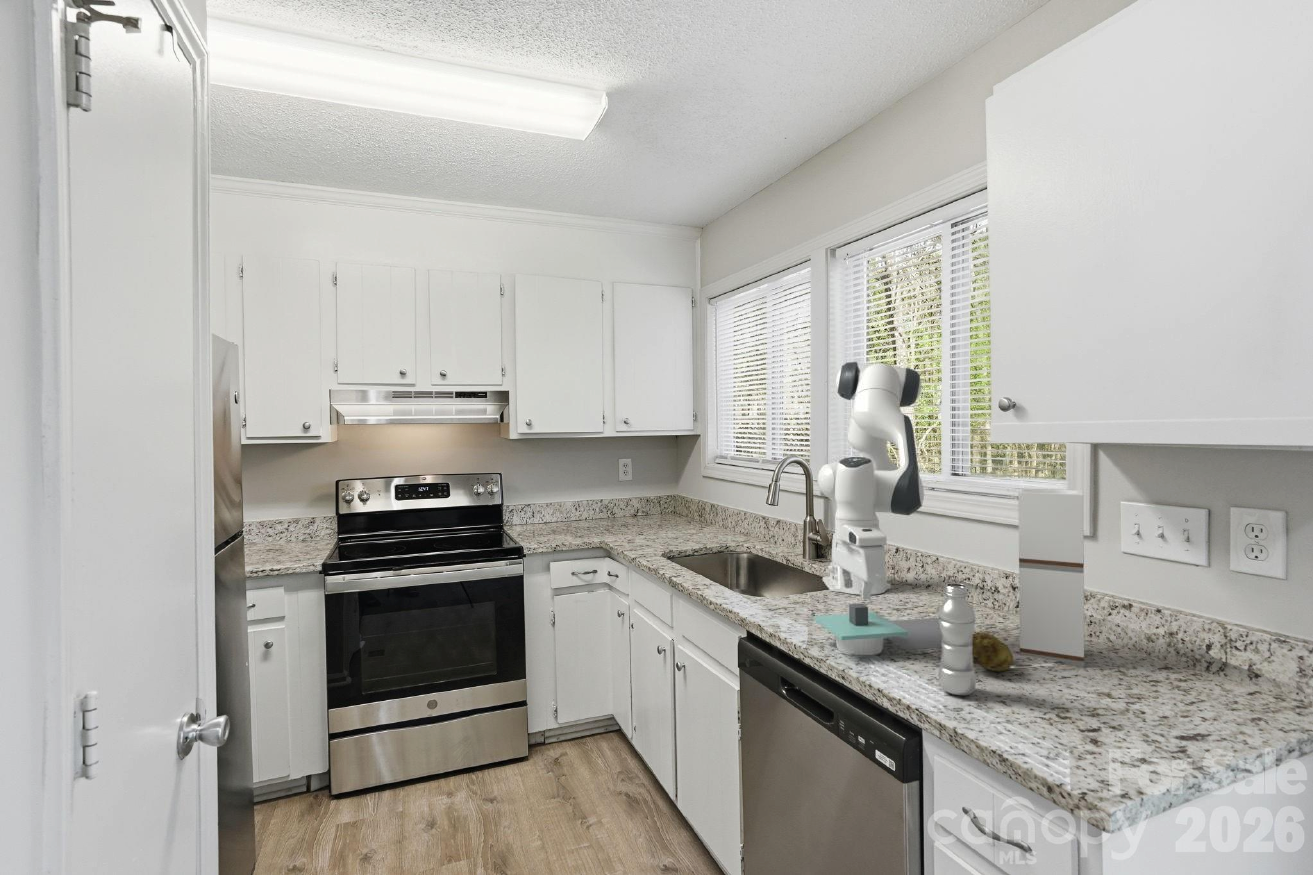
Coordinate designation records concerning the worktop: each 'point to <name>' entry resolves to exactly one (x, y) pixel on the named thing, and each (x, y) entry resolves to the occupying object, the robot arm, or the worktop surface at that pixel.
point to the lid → (859, 624)
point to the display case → (1051, 575)
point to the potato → (991, 652)
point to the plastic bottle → (957, 641)
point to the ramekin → (860, 646)
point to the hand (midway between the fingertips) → (856, 592)
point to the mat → (918, 634)
